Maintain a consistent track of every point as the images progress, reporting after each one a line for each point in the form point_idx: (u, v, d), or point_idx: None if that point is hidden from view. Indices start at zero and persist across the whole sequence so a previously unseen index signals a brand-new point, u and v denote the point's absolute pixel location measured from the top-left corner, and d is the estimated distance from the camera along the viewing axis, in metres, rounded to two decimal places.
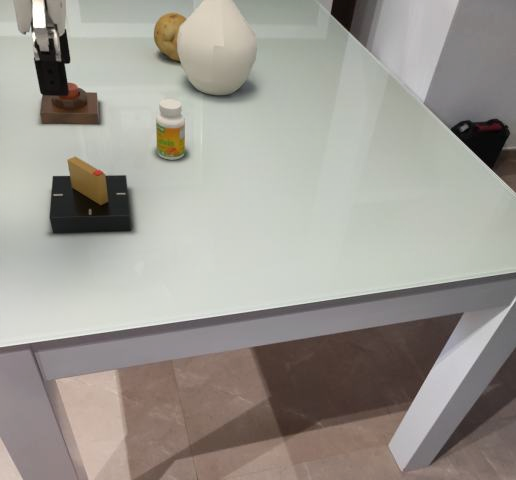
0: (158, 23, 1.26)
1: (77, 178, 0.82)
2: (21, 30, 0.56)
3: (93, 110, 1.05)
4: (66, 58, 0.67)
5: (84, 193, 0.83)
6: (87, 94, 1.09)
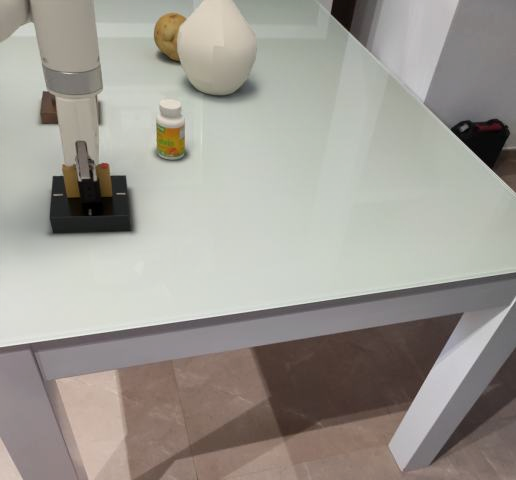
0: (158, 23, 1.26)
1: (77, 184, 0.81)
2: (67, 165, 0.74)
3: None
4: None
5: None
6: None
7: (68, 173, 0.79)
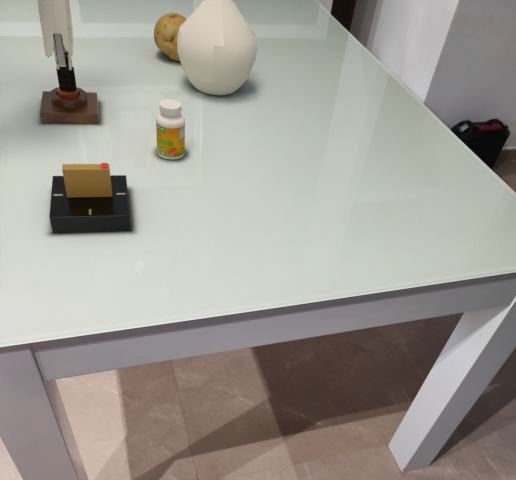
0: (158, 23, 1.26)
1: (77, 184, 0.81)
2: (47, 55, 0.95)
3: (93, 110, 1.05)
4: None
5: (87, 195, 0.82)
6: (87, 94, 1.09)
7: (68, 173, 0.79)
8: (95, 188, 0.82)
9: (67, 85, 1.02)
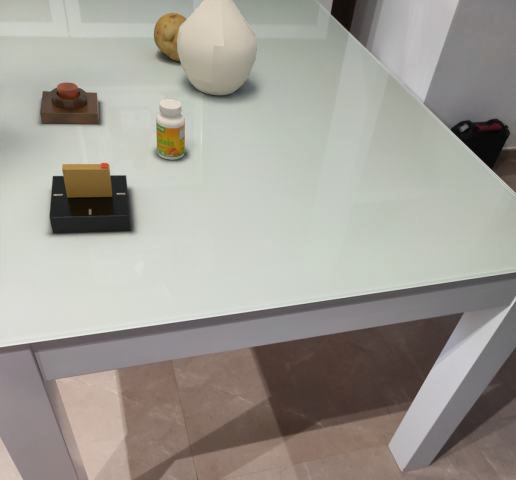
0: (158, 23, 1.26)
1: (77, 184, 0.81)
2: None
3: (93, 110, 1.05)
4: None
5: (87, 195, 0.82)
6: (87, 94, 1.09)
7: (68, 173, 0.79)
8: (95, 188, 0.82)
9: None
